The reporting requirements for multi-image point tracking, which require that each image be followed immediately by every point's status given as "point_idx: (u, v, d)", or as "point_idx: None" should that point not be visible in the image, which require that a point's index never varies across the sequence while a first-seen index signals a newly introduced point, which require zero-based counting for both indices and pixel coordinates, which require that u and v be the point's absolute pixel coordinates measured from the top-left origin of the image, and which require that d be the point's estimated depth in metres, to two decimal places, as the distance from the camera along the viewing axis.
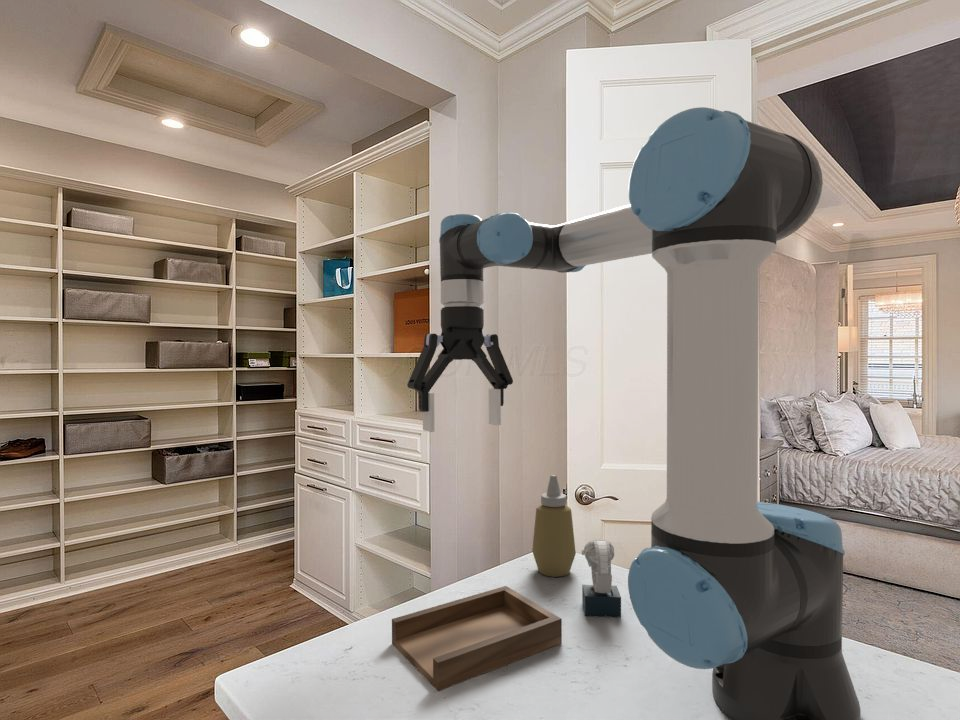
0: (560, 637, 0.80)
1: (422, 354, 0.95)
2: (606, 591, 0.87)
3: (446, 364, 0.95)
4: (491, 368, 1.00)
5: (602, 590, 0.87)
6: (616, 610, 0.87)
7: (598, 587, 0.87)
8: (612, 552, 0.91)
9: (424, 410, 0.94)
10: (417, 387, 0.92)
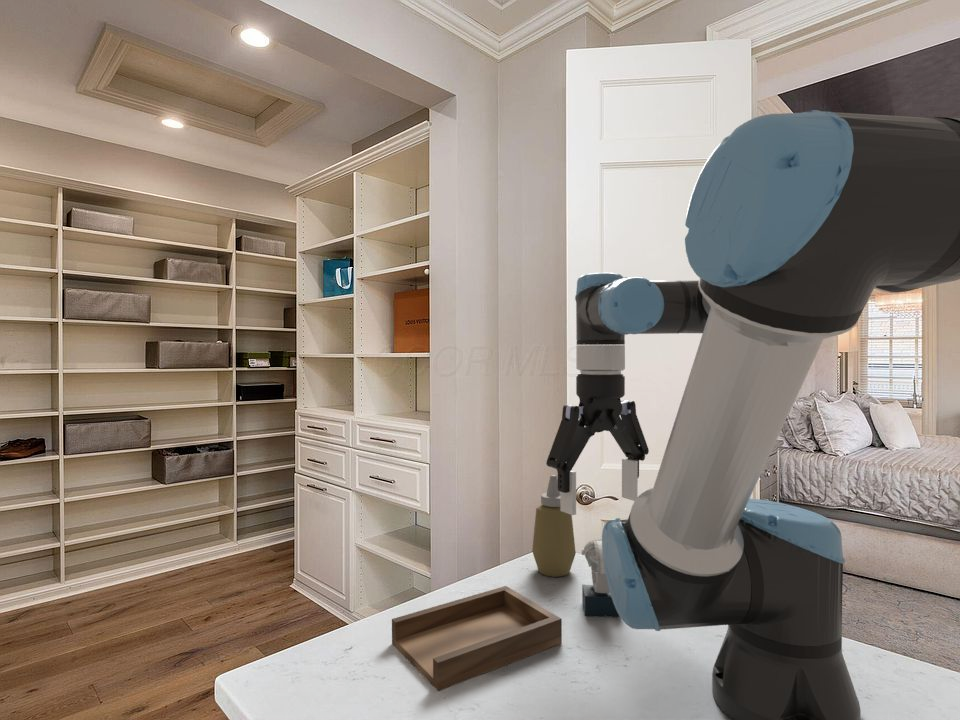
0: (560, 637, 0.80)
1: (561, 428, 0.85)
2: (606, 591, 0.87)
3: (587, 439, 0.86)
4: (629, 439, 0.91)
5: (602, 590, 0.87)
6: (616, 610, 0.87)
7: (598, 587, 0.87)
8: None
9: (565, 491, 0.85)
10: (560, 467, 0.83)
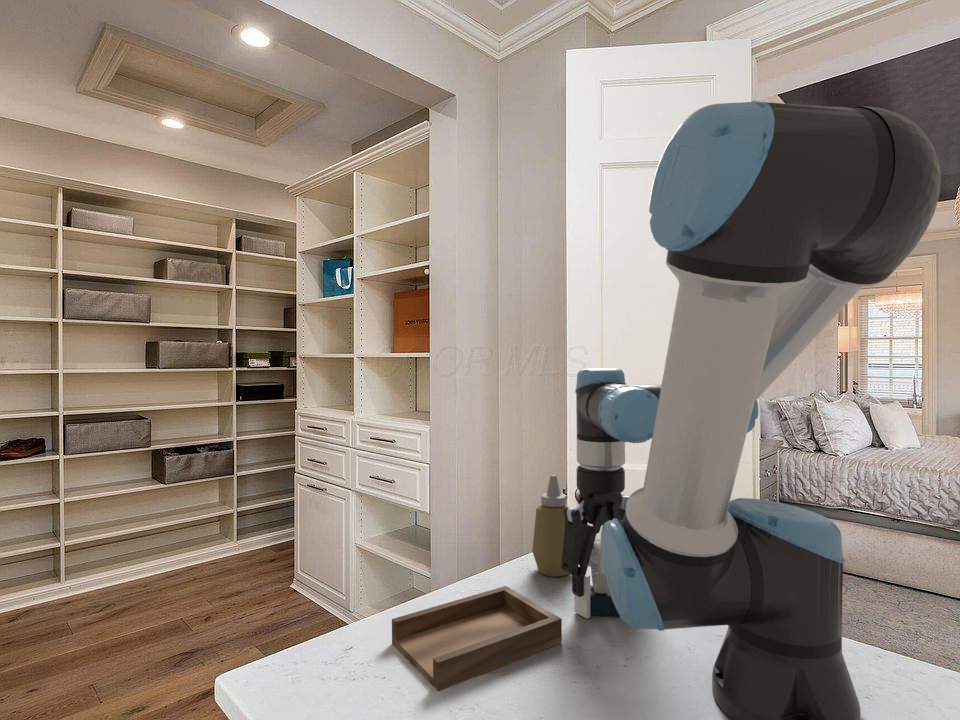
0: (560, 637, 0.80)
1: (567, 532, 0.86)
2: (606, 591, 0.87)
3: (594, 537, 0.87)
4: None
5: (602, 590, 0.87)
6: (616, 611, 0.87)
7: (598, 587, 0.87)
8: None
9: (580, 595, 0.86)
10: (575, 573, 0.85)
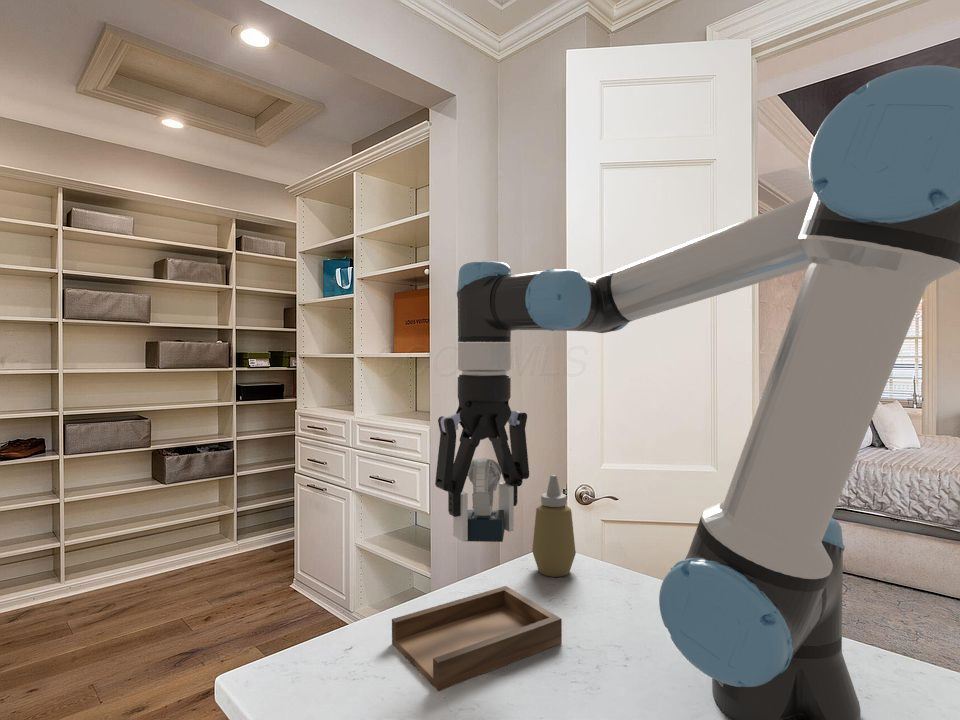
0: (560, 637, 0.80)
1: (441, 444, 0.77)
2: (485, 513, 0.78)
3: (472, 451, 0.78)
4: (509, 456, 0.81)
5: (480, 512, 0.78)
6: (497, 534, 0.78)
7: (476, 509, 0.77)
8: (497, 472, 0.81)
9: (455, 515, 0.77)
10: (448, 488, 0.76)
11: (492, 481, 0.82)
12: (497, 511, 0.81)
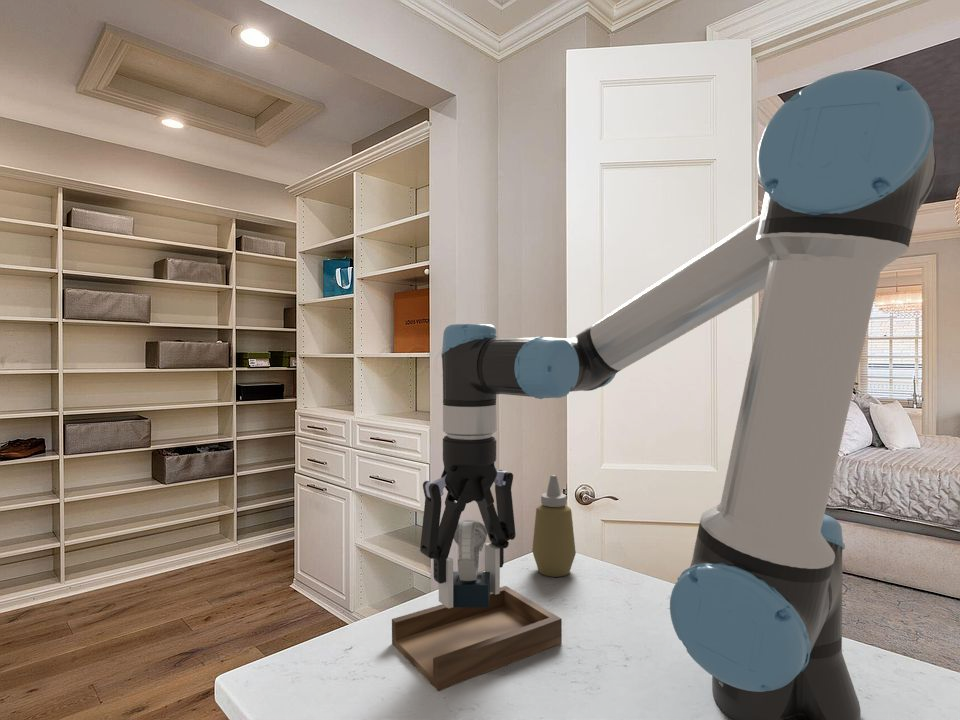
0: (560, 637, 0.80)
1: (426, 510, 0.76)
2: (471, 578, 0.76)
3: (458, 516, 0.76)
4: (495, 518, 0.80)
5: (466, 577, 0.76)
6: (483, 600, 0.77)
7: (462, 574, 0.76)
8: (483, 534, 0.80)
9: (441, 581, 0.76)
10: (433, 556, 0.74)
11: (478, 542, 0.81)
12: (483, 573, 0.80)
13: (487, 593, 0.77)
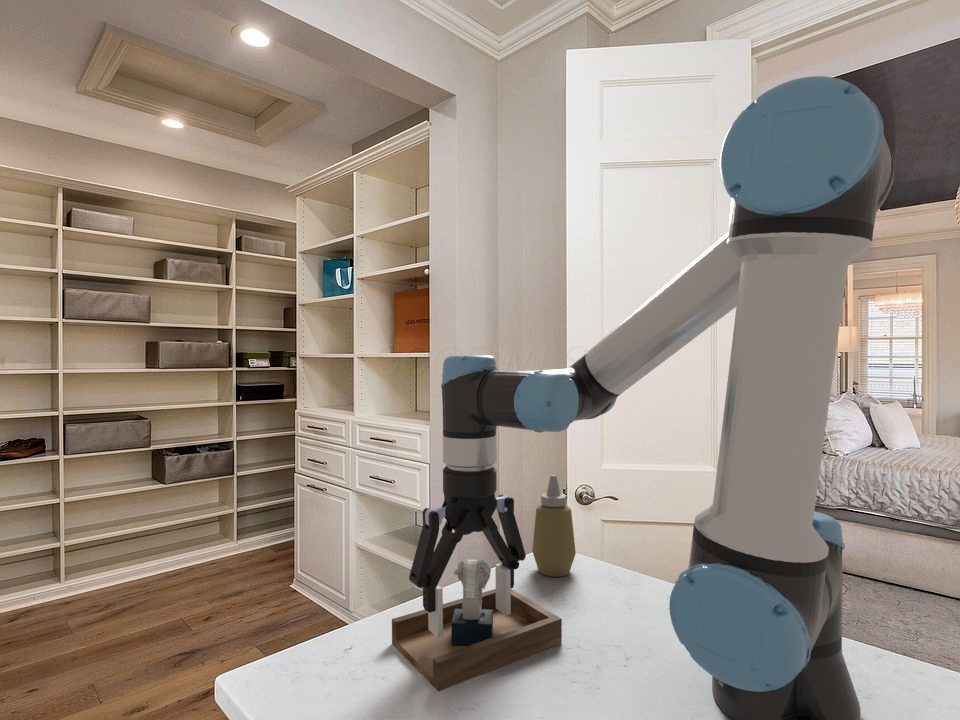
0: (560, 637, 0.80)
1: (422, 537, 0.75)
2: (474, 617, 0.77)
3: (453, 546, 0.76)
4: (501, 542, 0.81)
5: (470, 616, 0.77)
6: (486, 639, 0.77)
7: (465, 613, 0.76)
8: (487, 572, 0.80)
9: (430, 610, 0.75)
10: (422, 585, 0.73)
11: (481, 580, 0.81)
12: (486, 611, 0.80)
13: (490, 632, 0.77)
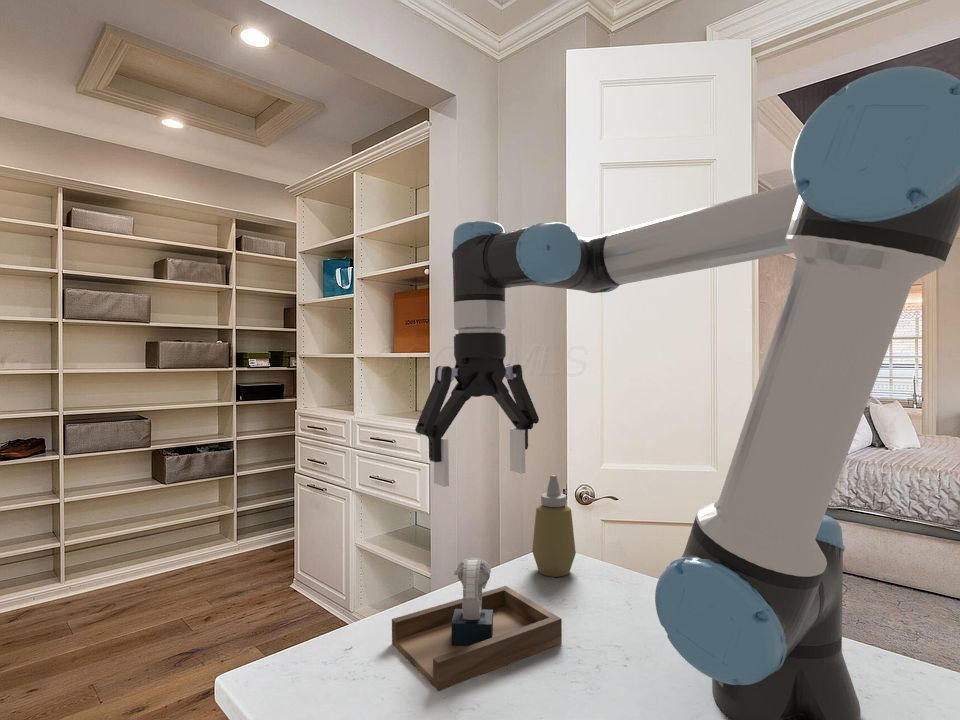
0: (560, 637, 0.80)
1: (433, 391, 0.78)
2: (474, 617, 0.77)
3: (462, 403, 0.78)
4: (514, 405, 0.84)
5: (470, 616, 0.77)
6: (486, 639, 0.77)
7: (465, 613, 0.76)
8: (487, 572, 0.80)
9: (436, 460, 0.77)
10: (428, 433, 0.75)
11: (481, 580, 0.81)
12: (486, 611, 0.80)
13: (490, 632, 0.77)
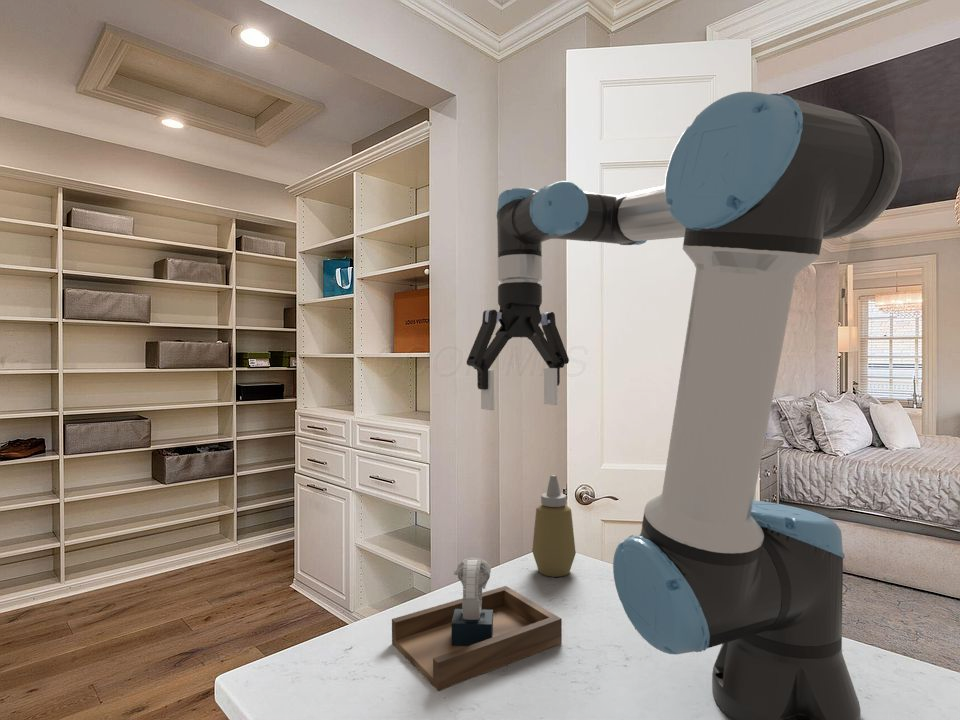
0: (560, 637, 0.80)
1: (481, 331, 0.93)
2: (474, 617, 0.77)
3: (505, 341, 0.93)
4: (548, 346, 0.98)
5: (470, 616, 0.77)
6: (486, 639, 0.77)
7: (465, 613, 0.76)
8: (487, 572, 0.80)
9: (484, 388, 0.92)
10: (477, 364, 0.90)
11: (481, 580, 0.81)
12: (486, 611, 0.80)
13: (490, 632, 0.77)
